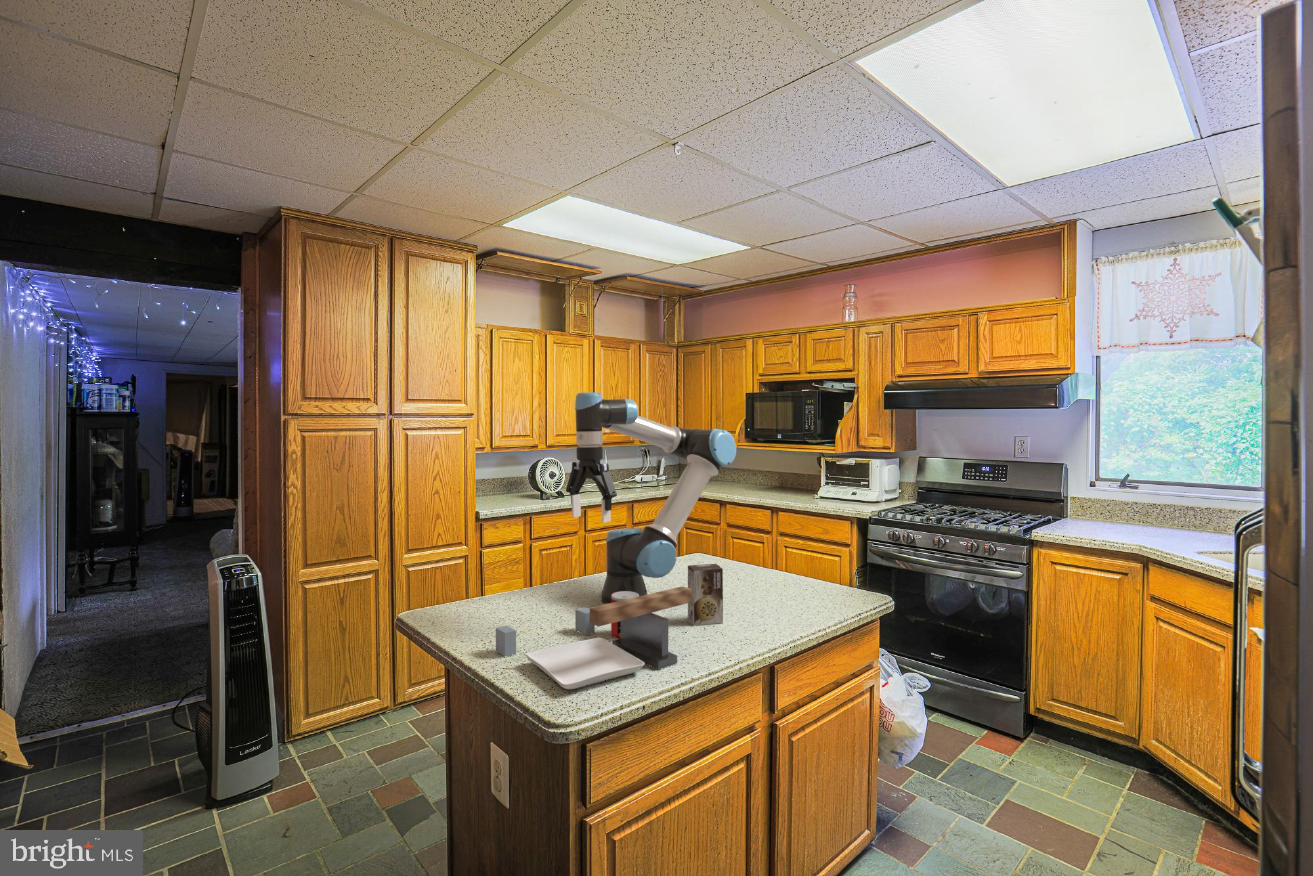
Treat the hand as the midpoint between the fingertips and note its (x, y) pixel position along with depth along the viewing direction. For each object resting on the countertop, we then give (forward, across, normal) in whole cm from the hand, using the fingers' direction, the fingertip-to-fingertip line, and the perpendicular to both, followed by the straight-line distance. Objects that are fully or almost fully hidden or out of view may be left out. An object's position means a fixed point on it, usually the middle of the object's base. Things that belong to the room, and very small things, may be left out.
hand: (591, 519), depth 180 cm
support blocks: (+29, +5, -20) cm, 36 cm away
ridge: (+30, +30, -8) cm, 43 cm away
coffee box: (+31, +23, +23) cm, 45 cm away
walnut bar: (+19, +30, -8) cm, 36 cm away
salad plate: (+30, +26, -24) cm, 47 cm away
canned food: (+30, +15, -1) cm, 34 cm away
